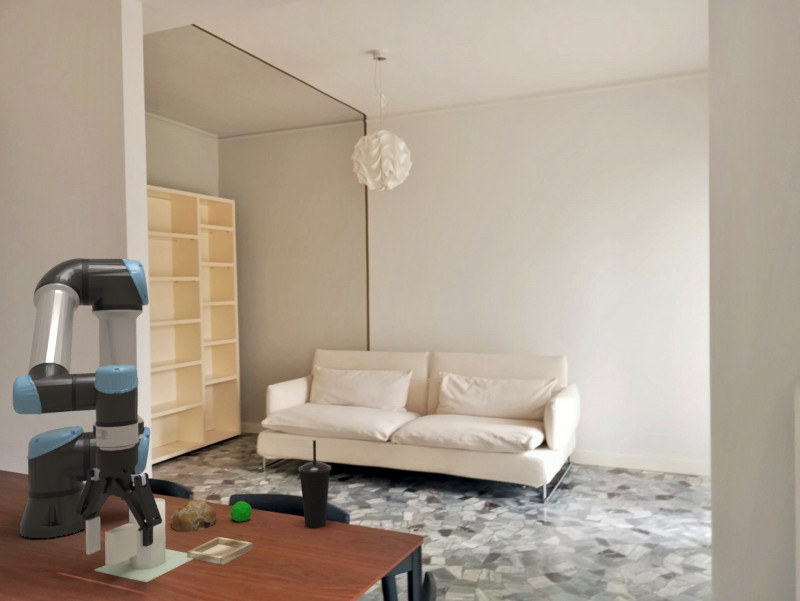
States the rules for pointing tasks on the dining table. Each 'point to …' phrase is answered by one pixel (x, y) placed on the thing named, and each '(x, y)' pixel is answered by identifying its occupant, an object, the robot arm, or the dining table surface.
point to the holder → (220, 550)
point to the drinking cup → (314, 491)
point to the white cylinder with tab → (125, 542)
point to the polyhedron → (241, 511)
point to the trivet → (146, 575)
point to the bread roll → (193, 516)
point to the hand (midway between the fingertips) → (118, 557)
